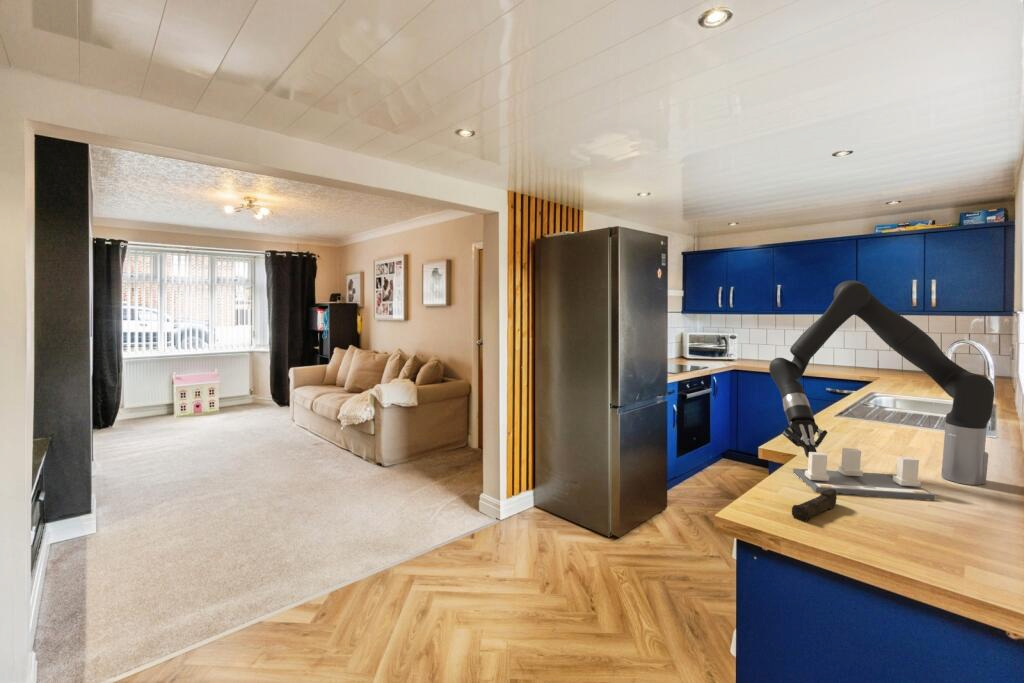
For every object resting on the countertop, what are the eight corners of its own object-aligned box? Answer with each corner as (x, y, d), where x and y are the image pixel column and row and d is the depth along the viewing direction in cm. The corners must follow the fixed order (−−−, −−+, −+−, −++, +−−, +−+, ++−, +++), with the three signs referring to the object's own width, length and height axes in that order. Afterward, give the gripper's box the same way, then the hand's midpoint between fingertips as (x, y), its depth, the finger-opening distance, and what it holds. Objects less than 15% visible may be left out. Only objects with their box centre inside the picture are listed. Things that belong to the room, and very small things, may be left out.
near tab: (911, 481, 142) (913, 456, 141) (920, 486, 138) (922, 461, 137) (892, 480, 143) (894, 455, 142) (901, 485, 139) (903, 460, 138)
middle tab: (855, 471, 150) (857, 448, 149) (862, 476, 146) (864, 452, 145) (838, 470, 151) (839, 447, 150) (844, 475, 147) (846, 451, 146)
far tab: (822, 476, 146) (824, 451, 145) (828, 481, 142) (830, 456, 141) (804, 475, 147) (806, 451, 146) (810, 479, 143) (811, 455, 142)
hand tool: (806, 524, 119) (808, 506, 118) (790, 517, 122) (791, 500, 122) (846, 508, 128) (847, 491, 128) (830, 502, 132) (831, 486, 131)
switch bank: (898, 479, 149) (898, 474, 149) (934, 500, 133) (934, 494, 133) (793, 473, 154) (793, 467, 154) (815, 492, 138) (816, 486, 138)
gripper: (779, 403, 157) (793, 451, 146) (823, 404, 154) (841, 453, 143) (772, 415, 162) (785, 462, 151) (815, 416, 160) (831, 465, 149)
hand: (812, 458), depth 147 cm, fingers closed
